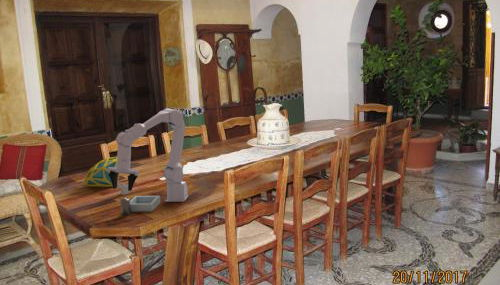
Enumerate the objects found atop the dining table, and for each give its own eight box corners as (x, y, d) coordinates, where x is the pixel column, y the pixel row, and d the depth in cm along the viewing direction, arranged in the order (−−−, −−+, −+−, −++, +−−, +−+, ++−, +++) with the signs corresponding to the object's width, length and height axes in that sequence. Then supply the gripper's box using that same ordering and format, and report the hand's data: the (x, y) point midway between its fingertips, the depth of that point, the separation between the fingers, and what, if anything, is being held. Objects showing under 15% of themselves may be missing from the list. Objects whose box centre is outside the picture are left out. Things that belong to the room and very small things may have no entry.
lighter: (127, 192, 241) (126, 177, 240) (129, 192, 240) (128, 178, 239) (116, 196, 236) (114, 181, 234) (118, 196, 235) (116, 181, 233)
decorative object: (118, 183, 270) (105, 161, 269) (139, 172, 255) (125, 148, 254) (85, 201, 252) (71, 177, 251) (106, 190, 237) (91, 164, 236)
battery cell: (132, 212, 211) (130, 196, 209) (129, 215, 207) (127, 199, 206) (124, 212, 211) (122, 196, 210) (120, 215, 208) (118, 199, 206)
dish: (160, 202, 222) (159, 195, 222) (152, 211, 211) (151, 204, 210) (136, 202, 224) (135, 195, 223) (126, 211, 212) (126, 204, 212)
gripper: (104, 158, 205) (103, 188, 207) (134, 162, 202) (132, 193, 203) (113, 156, 212) (111, 186, 214) (141, 160, 208) (140, 190, 210)
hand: (122, 189), depth 209 cm, fingers open, 7 cm apart
